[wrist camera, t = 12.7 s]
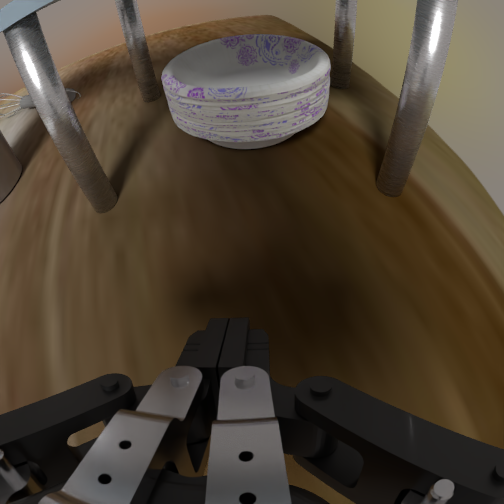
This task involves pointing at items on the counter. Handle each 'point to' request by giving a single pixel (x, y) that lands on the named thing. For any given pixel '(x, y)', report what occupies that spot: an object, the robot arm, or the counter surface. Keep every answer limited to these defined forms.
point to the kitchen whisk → (28, 103)
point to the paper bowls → (248, 89)
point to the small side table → (71, 132)
